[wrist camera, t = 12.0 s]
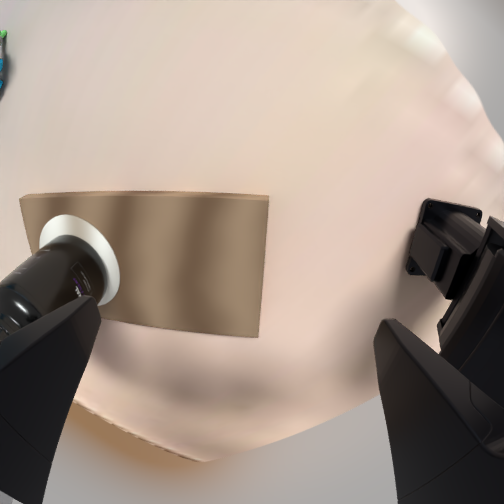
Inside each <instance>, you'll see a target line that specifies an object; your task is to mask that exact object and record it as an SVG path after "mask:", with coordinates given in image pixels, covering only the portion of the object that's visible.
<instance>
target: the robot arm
mask: <svg viewBox="0 0 504 504" xmlns="http://www.w3.org/2000/svg"><path fill="white" fill-rule="evenodd" d="M430 203H431V206H430V207H429V208H428V205H429V204H430ZM477 213H478V215H477ZM476 215H477V216H476ZM481 218H482V211H481V210H480V209H478V208H475V207H470V206H466V205H461V204H456V203H451V202H446V201H441V200H436V199H430V198H428V199H426V200H425V201H424V203H423V207H422V211H421V215H420V219H419V223H418V225H417V227H416V231H415V235H414V238H413V242H412V245H411V249H410V252H409V253H410V255H409V259H408V262H407V265H406V271H407V273H408V274H410V275H424V276H427V277H428V279H429V280H430V281H431V282H434V284H435V285H436V286H437V288H438V289H439V290H440V292H441V293H442V294H443V296H444V297H445V299H447V300H452V302H451V304H450V306H449V308H448V309H447V311H446V313H445V315H444V316H443V318H442V319H440V321H439V322H438V324H437V330H438V335H439V342H440V348H441V351H440V352H439V354H438V353H436V352H435V351H434V350H433V349H432V348H430V347H429V346H428V345H427V344H426V343H424V342H423V341H422V340H421V339H419V338H418V337H417V336H416V335H415V334H413V333H412V332H411V331H410V330H408V329H407V328H406V327H405V326H403V325H402V324H401V323H400V322H398V321H397V320H396V319H383V320H382V321H381V323H380V325H379V328H378V330H377V333H376V335H375V338H374V352H375V360H376V368H377V377H378V385H379V390H380V395H381V400H382V404H383V409H384V414H385V420H386V424H387V430H388V436H389V442H390V448H391V454H392V460H393V467H394V474H395V482H396V490H397V499H398V504H504V222H502V221H500V220H498V219H496V218H494V217H492V216H489V219H488V222H487V224H488V226H487V228H486V229H485V228H484V227H482V226H481V225H480V222H481ZM412 267H413V269H411V268H412ZM410 269H411V270H410ZM100 324H101V315H100V312H99V309H98V306H97V302H96V300H95V298H94V297H92V296H86V295H83V296H81V297H79V298H77V299H75V300H73V301H71V302H69V303H67V304H65V305H64V306H62V307H60V308H58V309H56V310H54V311H52V312H51V313H49V314H47V315H45V316H43V317H41V318H40V319H38V320H36V321H34V322H32V323H31V324H29V325H27V326H25V327H23V328H22V329H20V330H18V331H16V332H15V333H13V334H11V335H9V336H8V337H6V338H4V339H3V340H0V504H12V501H13V498H14V499H15V500H17V501H19V502H21V503H23V504H42V502H43V498H44V493H45V489H46V485H47V481H48V477H49V473H50V469H51V465H52V461H53V458H54V455H55V451H56V448H57V444H58V442H59V438H60V435H61V432H62V429H63V426H64V423H65V420H66V418H67V415H68V412H69V409H70V406H71V404H72V401H73V398H74V396H75V393H76V390H77V388H78V385H79V383H80V380H81V378H82V375H83V373H84V371H85V368H86V366H87V363H88V360H89V358H90V355H91V351H92V348H93V345H94V342H95V339H96V336H97V333H98V330H99V327H100Z"/></svg>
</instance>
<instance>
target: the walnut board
mask: <svg viewBox="0 0 504 504" xmlns="http://www.w3.org/2000/svg"><path fill="white" fill-rule="evenodd" d="M19 201H20V207H21V212H22V216H23V221H24V225H25V230H26V234H27V238H28V242H29V245H30V249H31V253H32V255H33V254H34V253H36V252H37V251H38V250H39V249H41V248H42V247H43V246H44V245H46V244H47V243H49V242H50V241H51V240H53V239H54V238H56V237H58V236H60V235H66V234H68V235H74V236H77V237H79V238H81V239H83V240H85V241H86V242H88V243H89V244H90V245H91V246H92V247H93V248H94V249H95V250H96V251H97V253H98V254H99V256H100V257H101V259H102V261H103V263H104V265H105V268H106V271H107V276H108V286H107V291H106V293H105V295H104V297H103V298H102V300H101V301H100V302H99V304H98V305H97V306H98V309H99V312H100V315H101V318H104V319H109V320H115V321H120V322H126V323H132V324H139V325H145V326H152V327H159V328H166V329H174V330H182V331H190V332H199V333H209V334H219V335H230V336H243V337H257V338H258V332H259V320H260V308H261V296H262V284H263V271H264V258H265V245H266V232H267V218H268V204H269V196H267V195H251V194H232V193H210V192H177V191H96V192H65V193H44V194H28V195H25V196H23V197H22V198H20V199H19Z"/></svg>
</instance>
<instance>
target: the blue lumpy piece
mask: <svg viewBox="0 0 504 504" xmlns="http://www.w3.org/2000/svg"><path fill="white" fill-rule="evenodd" d="M6 34H7V31H6V30H3V31H2V32H1V31H0V46H1V44H2V41H3V37H4V36H5V35H6ZM2 66H3V60H2V59H0V71H1V70H2ZM2 84H3V82H2V81H1V80H0V88H1V86H2Z"/></svg>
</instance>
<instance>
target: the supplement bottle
mask: <svg viewBox="0 0 504 504" xmlns="http://www.w3.org/2000/svg"><path fill="white" fill-rule="evenodd" d="M107 286H108V276H107V271H106V268H105V265H104V263H103V261H102V259H101V257H100V256H99V254H98V253H97V251H96V250H95V249H94V248H93V247H92V246H91V245H90V244H89V243H88V242H86V241H85V240H83V239H81V238H79V237H77V236H74V235H68V234H66V235H60V236H58V237H56V238H54V239H53V240H51V241H50V242H49V243H47V244H46V245H44V246H43V247H42V248H41V249H39V250H38V251H37V252H36V253H34V254H33V255H32V256H31V257H29V258H28V259H27V260H26V261H24V262H23V263H22V264H21V265H20V266H18V267H17V268H16V269H15V270H14V271H13V272H11V273H10V274H9V275H8V276H7V277H6V278H4V279H3V280H2V281H1V282H0V340H3V339H4V338H6V337H8V336H9V335H11V334H13V333H15V332H16V331H18V330H20V329H22V328H23V327H25V326H27V325H29V324H31V323H32V322H34V321H36V320H38V319H40V318H41V317H43V316H45V315H47V314H49V313H51V312H52V311H54V310H56V309H58V308H60V307H62V306H64V305H65V304H67V303H69V302H71V301H73V300H75V299H77V298H79V297H81V296H83V295H86V296H92V297H94V298H95V300H96V302H97V305H98V304H99V302H100V301H101V300H102V298H103V297H104V295H105V293H106V291H107Z"/></svg>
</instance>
